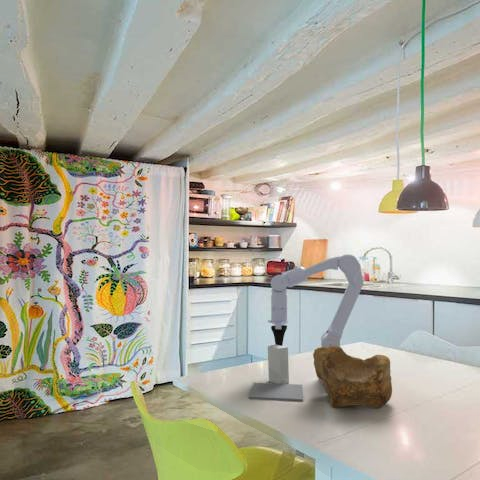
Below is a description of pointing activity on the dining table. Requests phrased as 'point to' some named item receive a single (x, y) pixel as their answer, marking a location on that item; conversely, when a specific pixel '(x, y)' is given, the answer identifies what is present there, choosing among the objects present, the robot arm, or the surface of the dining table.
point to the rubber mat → (276, 391)
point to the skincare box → (278, 364)
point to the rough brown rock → (353, 378)
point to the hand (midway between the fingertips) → (279, 346)
